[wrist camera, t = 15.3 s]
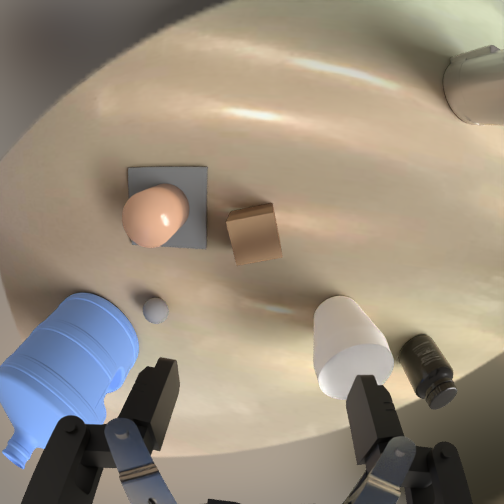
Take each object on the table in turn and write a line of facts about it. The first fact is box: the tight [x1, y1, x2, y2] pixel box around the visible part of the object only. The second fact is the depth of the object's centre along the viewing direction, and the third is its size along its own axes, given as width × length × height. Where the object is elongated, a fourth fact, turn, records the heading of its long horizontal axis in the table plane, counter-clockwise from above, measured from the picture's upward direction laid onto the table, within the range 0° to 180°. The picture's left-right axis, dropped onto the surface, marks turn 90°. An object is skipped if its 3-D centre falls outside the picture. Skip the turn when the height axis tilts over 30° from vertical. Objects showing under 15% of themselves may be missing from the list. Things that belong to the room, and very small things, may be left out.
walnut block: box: [226, 203, 282, 266], centre depth 33 cm, size 5×5×5 cm
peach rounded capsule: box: [122, 184, 189, 248], centre depth 32 cm, size 6×6×6 cm
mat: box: [128, 167, 208, 249], centre depth 35 cm, size 10×10×1 cm
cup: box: [313, 296, 394, 400], centre depth 34 cm, size 9×9×12 cm
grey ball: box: [143, 298, 169, 324], centre depth 38 cm, size 4×4×4 cm
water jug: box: [0, 293, 139, 469], centre depth 30 cm, size 16×16×28 cm
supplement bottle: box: [399, 335, 457, 409], centre depth 36 cm, size 7×7×12 cm
